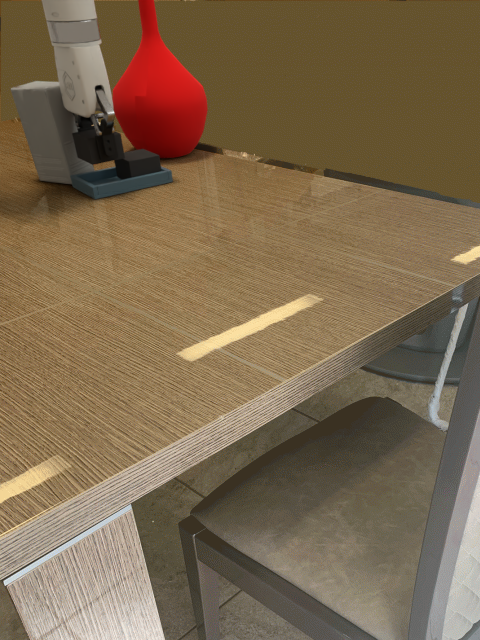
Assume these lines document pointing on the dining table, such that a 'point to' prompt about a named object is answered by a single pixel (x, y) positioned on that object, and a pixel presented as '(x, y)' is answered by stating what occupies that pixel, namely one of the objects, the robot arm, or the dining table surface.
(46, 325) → the dining table surface
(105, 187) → the tray
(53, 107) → the cosmetic box
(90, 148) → the loose pad
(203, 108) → the vase
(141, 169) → the seated pad
